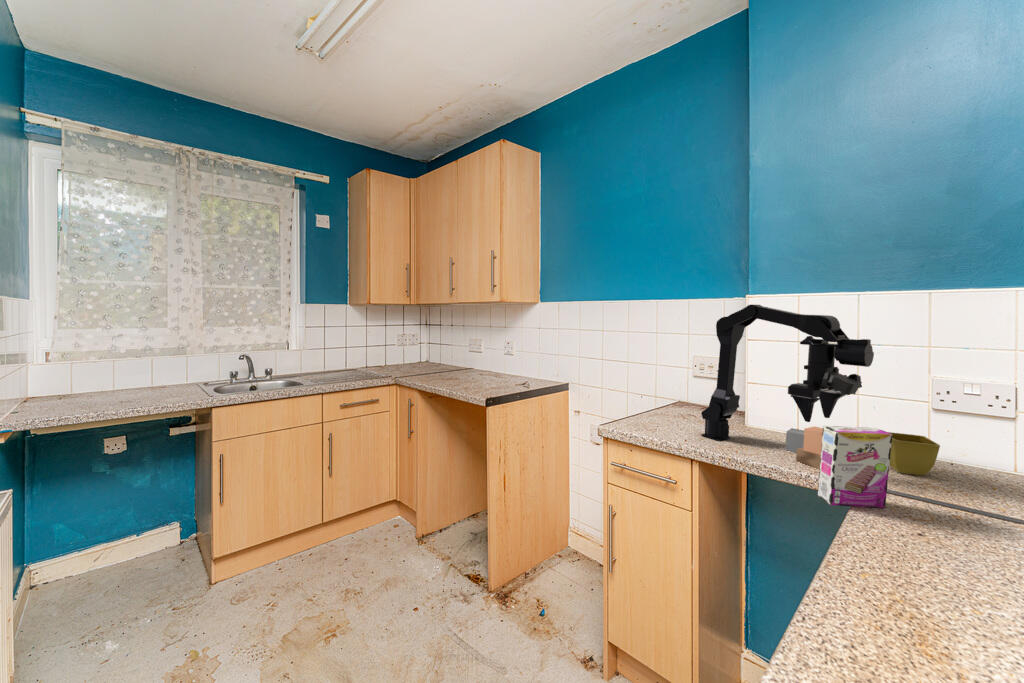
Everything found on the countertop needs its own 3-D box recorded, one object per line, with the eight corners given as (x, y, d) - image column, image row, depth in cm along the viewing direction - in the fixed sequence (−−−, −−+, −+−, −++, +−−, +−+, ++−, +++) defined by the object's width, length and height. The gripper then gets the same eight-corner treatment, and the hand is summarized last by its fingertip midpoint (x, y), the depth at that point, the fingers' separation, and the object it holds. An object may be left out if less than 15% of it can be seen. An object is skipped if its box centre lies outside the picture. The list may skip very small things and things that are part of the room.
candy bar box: (831, 506, 89) (836, 431, 88) (816, 496, 94) (821, 425, 93) (888, 509, 88) (893, 433, 87) (870, 498, 93) (875, 426, 92)
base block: (795, 462, 116) (796, 448, 116) (814, 460, 118) (815, 446, 118) (820, 472, 109) (821, 457, 109) (840, 469, 111) (841, 454, 111)
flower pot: (921, 468, 111) (924, 435, 111) (938, 480, 103) (941, 445, 103) (879, 463, 115) (881, 431, 114) (892, 474, 107) (894, 440, 106)
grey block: (785, 451, 125) (786, 431, 125) (790, 447, 128) (791, 428, 128) (805, 455, 121) (806, 435, 121) (810, 451, 125) (811, 431, 124)
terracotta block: (803, 450, 114) (804, 428, 114) (813, 447, 117) (814, 426, 116) (823, 455, 110) (825, 433, 110) (833, 452, 112) (835, 430, 112)
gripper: (836, 368, 101) (831, 432, 102) (875, 364, 109) (871, 423, 110) (788, 362, 111) (784, 421, 112) (827, 359, 119) (824, 413, 120)
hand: (817, 419), depth 113 cm, fingers open, 9 cm apart
